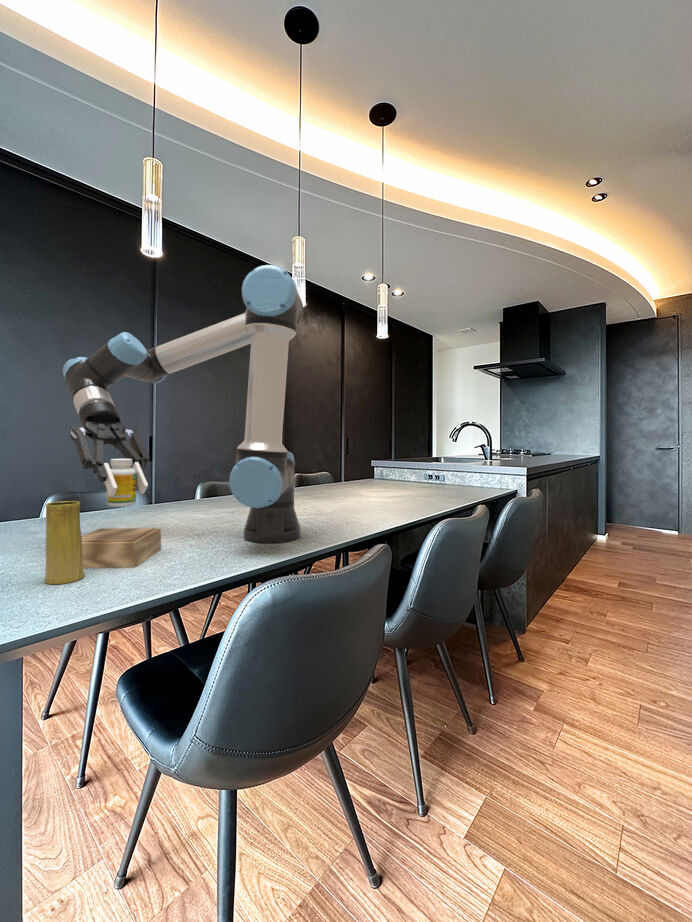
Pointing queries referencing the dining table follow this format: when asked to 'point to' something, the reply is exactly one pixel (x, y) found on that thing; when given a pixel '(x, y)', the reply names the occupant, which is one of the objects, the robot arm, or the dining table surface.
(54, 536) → the vase
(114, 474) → the supplement bottle
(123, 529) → the stand
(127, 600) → the dining table surface
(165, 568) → the dining table surface
